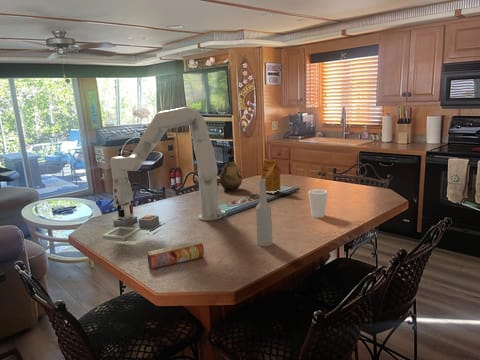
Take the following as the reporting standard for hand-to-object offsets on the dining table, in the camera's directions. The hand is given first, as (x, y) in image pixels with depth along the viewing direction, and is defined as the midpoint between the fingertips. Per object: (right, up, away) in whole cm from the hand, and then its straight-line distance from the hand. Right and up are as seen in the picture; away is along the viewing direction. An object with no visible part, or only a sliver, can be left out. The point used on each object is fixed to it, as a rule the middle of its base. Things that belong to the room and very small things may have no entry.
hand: (125, 214), depth 186 cm
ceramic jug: (+53, +11, +67) cm, 86 cm away
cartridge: (0, -4, +1) cm, 4 cm away
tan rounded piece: (+13, -4, -4) cm, 15 cm away
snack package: (+34, -14, -45) cm, 58 cm away
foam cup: (+100, -1, +1) cm, 100 cm away
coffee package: (+80, +10, +54) cm, 97 cm away
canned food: (-7, -2, +23) cm, 24 cm away
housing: (+7, -6, -1) cm, 9 cm away
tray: (+3, -9, -14) cm, 16 cm away
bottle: (+70, -9, -32) cm, 77 cm away
